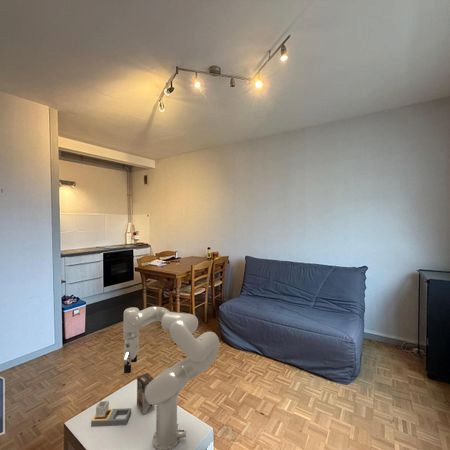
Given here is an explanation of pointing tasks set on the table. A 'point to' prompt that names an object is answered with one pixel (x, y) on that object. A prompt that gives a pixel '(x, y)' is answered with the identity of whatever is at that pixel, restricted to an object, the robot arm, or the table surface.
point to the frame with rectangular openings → (113, 418)
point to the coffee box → (143, 393)
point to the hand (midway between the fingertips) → (130, 367)
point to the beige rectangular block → (102, 410)
